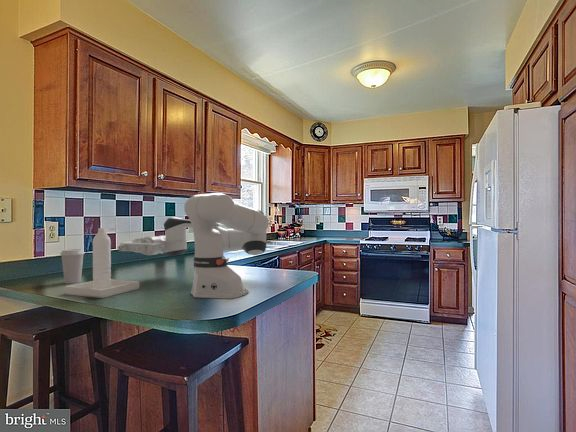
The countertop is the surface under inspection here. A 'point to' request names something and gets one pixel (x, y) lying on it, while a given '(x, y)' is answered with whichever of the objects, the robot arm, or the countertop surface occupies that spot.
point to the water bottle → (102, 260)
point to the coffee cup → (72, 265)
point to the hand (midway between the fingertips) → (126, 248)
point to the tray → (88, 290)
